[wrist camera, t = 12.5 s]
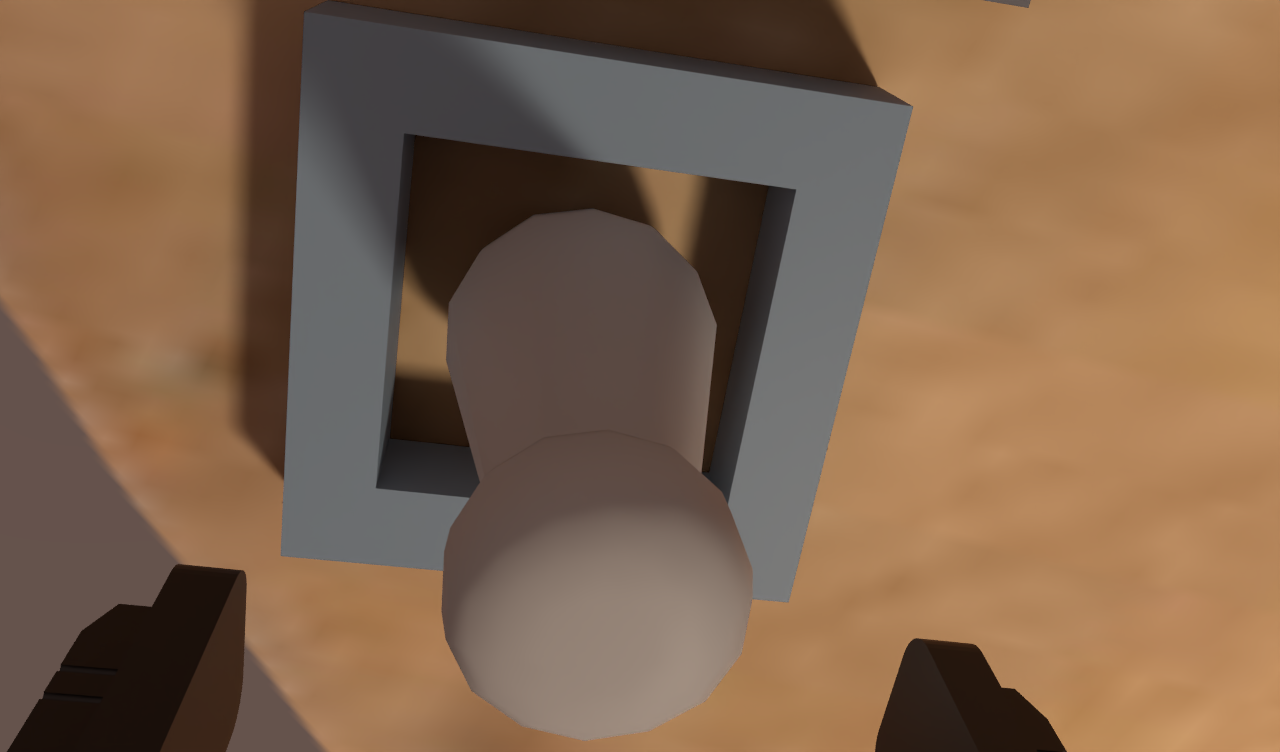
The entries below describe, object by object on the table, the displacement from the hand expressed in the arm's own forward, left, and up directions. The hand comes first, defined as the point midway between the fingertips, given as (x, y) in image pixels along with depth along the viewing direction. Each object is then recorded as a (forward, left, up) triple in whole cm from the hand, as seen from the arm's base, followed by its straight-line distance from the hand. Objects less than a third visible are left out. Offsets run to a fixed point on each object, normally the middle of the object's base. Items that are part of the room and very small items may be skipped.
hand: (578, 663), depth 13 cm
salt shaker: (0, 0, -14) cm, 14 cm away
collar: (0, 0, -14) cm, 14 cm away
